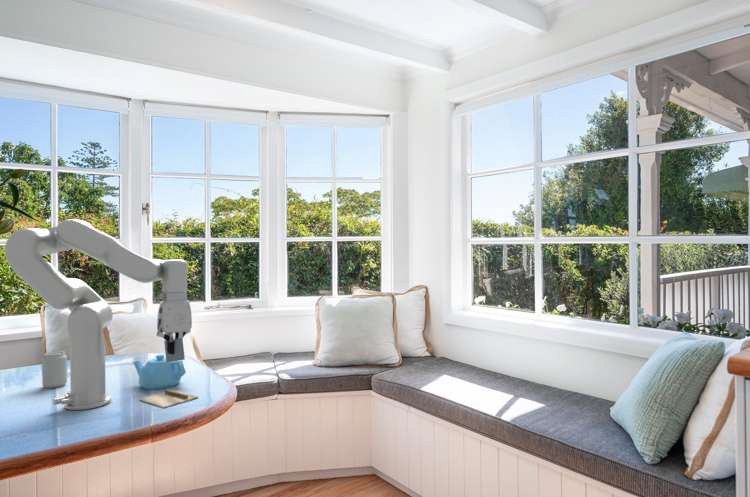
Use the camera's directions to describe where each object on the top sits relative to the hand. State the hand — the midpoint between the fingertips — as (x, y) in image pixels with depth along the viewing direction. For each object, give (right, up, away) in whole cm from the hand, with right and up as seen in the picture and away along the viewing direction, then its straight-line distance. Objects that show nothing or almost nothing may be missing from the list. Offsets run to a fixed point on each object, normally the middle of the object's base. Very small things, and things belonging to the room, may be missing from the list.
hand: (173, 352), depth 158 cm
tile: (+1, -2, -1) cm, 3 cm away
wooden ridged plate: (-1, -15, -2) cm, 15 cm away
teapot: (-12, -15, +16) cm, 25 cm away
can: (-50, -16, +16) cm, 54 cm away
